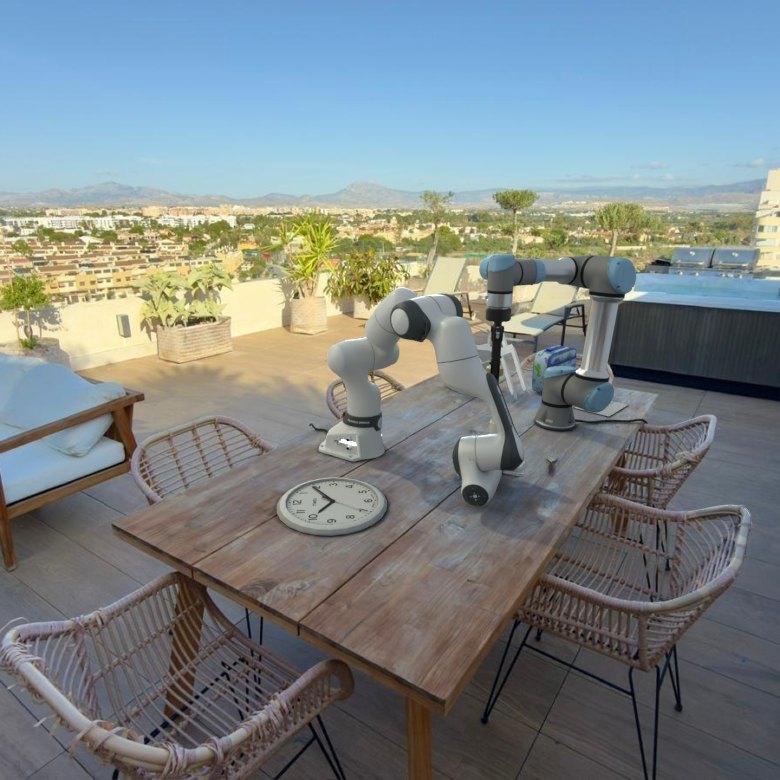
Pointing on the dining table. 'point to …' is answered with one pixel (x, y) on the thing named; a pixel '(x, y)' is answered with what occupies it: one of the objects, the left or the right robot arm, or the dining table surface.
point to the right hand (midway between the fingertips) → (494, 381)
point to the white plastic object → (504, 363)
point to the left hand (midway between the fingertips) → (495, 452)
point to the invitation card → (610, 408)
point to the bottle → (492, 426)
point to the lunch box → (551, 363)
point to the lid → (490, 369)
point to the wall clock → (331, 506)
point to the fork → (551, 460)
